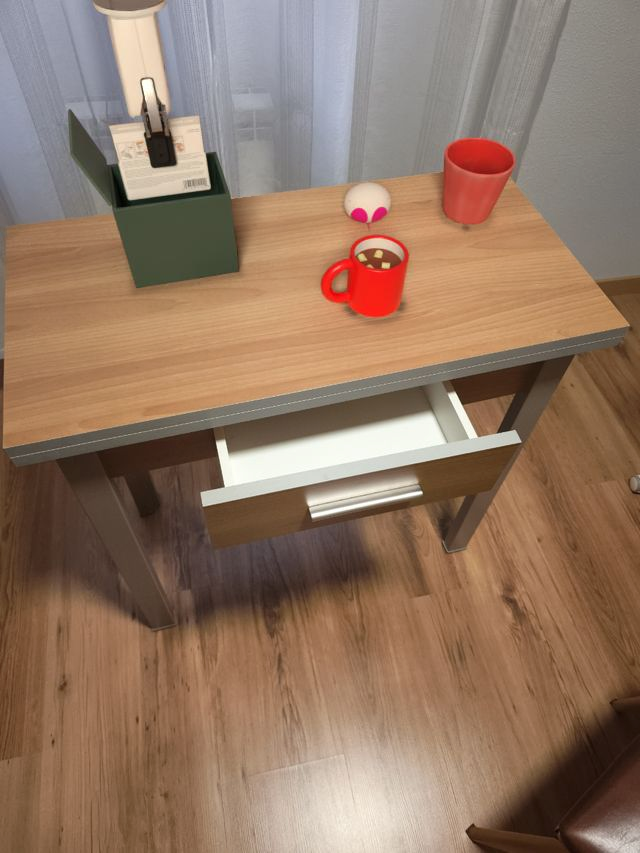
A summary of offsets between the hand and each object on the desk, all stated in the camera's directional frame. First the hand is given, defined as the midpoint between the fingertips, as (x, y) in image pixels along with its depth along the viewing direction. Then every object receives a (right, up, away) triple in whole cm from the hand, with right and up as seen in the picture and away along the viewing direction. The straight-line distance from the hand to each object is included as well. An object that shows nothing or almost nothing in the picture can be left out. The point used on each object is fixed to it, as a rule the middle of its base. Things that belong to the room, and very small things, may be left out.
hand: (162, 158), depth 73 cm
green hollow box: (0, -9, +13) cm, 15 cm away
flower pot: (+45, +1, +21) cm, 50 cm away
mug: (+26, -17, +8) cm, 32 cm away
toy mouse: (+28, -1, +19) cm, 34 cm away
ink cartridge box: (0, -3, +4) cm, 5 cm away
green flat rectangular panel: (-8, -1, -3) cm, 9 cm away
